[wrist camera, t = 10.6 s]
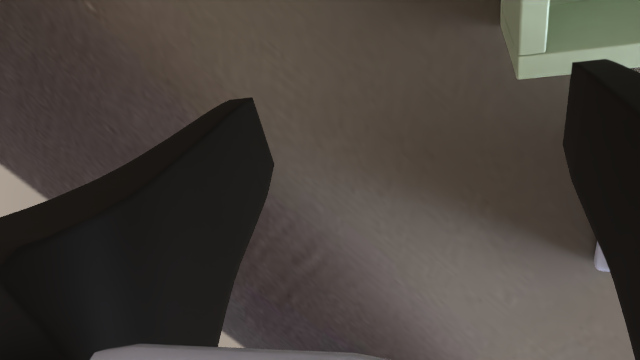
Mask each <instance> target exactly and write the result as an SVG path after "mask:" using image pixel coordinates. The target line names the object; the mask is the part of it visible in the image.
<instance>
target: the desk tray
mask: <svg viewBox="0 0 640 360" xmlns="http://www.w3.org/2000/svg"><path fill="white" fill-rule="evenodd" d="M500 26H501V29H502V33H503V36H504V39H505V42H506V46H507V49H508V52H509V55H510V58H511V61H512V65H513V68H514V71H515V74H516V77H517V79H529V78H539V77H548V76H558V75H568V74H571V70H572V62H581V61H590V60H599V59H608V60H611V61H614V62H616V63H619V64H621V65H623V66H625V67H628V68H635V67H640V0H501V14H500Z"/></svg>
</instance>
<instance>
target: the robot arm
mask: <svg viewBox="0 0 640 360" xmlns="http://www.w3.org/2000/svg"><path fill="white" fill-rule="evenodd" d="M563 147H564V151H565V155H566V160H567V164H568V168H569V172H570V176H571V179H572V182H573V185H574V187H575V190H576V192H577V195H578V197H579V199H580V202H581V204H582V206H583V209H584V211H585V213H586V216H587V218H588V220H589V223H590V225H591V227H592V230H593V232H594V234H595V237H596V239H597V245H596V250H595V256H594V265H595V268H596V269H597V270H600V271H610V273H611V275H612V278H613V281H614V284H615V288H616V291H617V295H618V298H619V301H620V305H621V308H622V312H623V315H624V319H625V322H626V326H627V330H628V333H629V337H630V341H631V345H632V349H633V352H634V356H635V360H640V73H638V72H636V71H634V70H632V69H630V68H628V67H625V66H623V65H621V64H619V63H616V62H614V61H611V60H608V59H599V60H590V61H581V62H572V70H571V79H570V88H569V96H568V105H567V113H566V122H565V131H564V139H563ZM273 167H274V162H273V159H272V156H271V153H270V150H269V147H268V144H267V141H266V137H265V134H264V131H263V128H262V125H261V122H260V119H259V116H258V113H257V110H256V107H255V104H254V101H253V98H243V99H234V100H229V101H227V102H224V103H222V104H221V105H219V106H217V107H215V108H214V109H212V110H210V111H209V112H207V113H206V114H204V115H203V116H201V117H200V118H198V119H197V120H195V121H194V122H192V123H191V124H189V125H188V126H186V127H185V128H183V129H182V130H180V131H179V132H177V133H176V134H174V135H173V136H171V137H170V138H168V139H166V140H165V141H163V142H162V143H160V144H158V145H157V146H155V147H154V148H152V149H150V150H149V151H147V152H146V153H144V154H142V155H141V156H139V157H138V158H136V159H134V160H132V161H131V162H129V163H127V164H125V165H123V166H122V167H120V168H118V169H116V170H114V171H112V172H110V173H108V174H106V175H104V176H102V177H100V178H98V179H96V180H94V181H92V182H90V183H88V184H85V185H83V186H81V187H78V188H76V189H74V190H71V191H69V192H67V193H65V194H62V195H60V196H58V197H55V198H53V199H51V200H48V201H45V202H43V203H40V204H37V205H35V206H32V207H29V208H27V209H24V210H21V211H18V212H15V213H12V214H9V215H6V216H3V217H0V360H389V359H384V358H379V357H373V356H368V355H363V354H357V353H343V352H320V351H297V350H274V349H251V348H227V347H218V343H219V339H220V335H221V331H222V326H223V322H224V318H225V314H226V310H227V306H228V303H229V299H230V295H231V291H232V288H233V284H234V281H235V278H236V275H237V272H238V269H239V266H240V263H241V261H242V258H243V256H244V253H245V251H246V248H247V246H248V243H249V241H250V239H251V236H252V234H253V231H254V229H255V226H256V224H257V221H258V219H259V216H260V213H261V211H262V208H263V206H264V203H265V200H266V198H267V194H268V190H269V186H270V182H271V177H272V172H273Z"/></svg>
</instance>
